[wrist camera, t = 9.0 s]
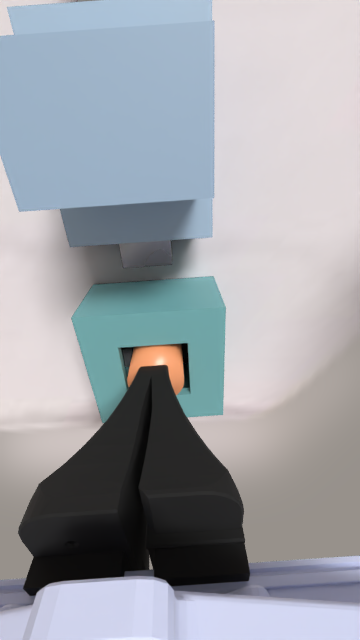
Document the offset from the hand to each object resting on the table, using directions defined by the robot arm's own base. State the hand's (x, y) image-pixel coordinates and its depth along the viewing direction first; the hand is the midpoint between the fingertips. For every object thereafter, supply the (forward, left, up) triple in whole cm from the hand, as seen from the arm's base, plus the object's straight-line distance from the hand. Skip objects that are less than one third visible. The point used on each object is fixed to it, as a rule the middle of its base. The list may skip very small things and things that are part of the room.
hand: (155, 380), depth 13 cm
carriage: (0, -10, -5) cm, 11 cm away
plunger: (0, 0, -4) cm, 4 cm away
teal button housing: (0, 0, -5) cm, 5 cm away
